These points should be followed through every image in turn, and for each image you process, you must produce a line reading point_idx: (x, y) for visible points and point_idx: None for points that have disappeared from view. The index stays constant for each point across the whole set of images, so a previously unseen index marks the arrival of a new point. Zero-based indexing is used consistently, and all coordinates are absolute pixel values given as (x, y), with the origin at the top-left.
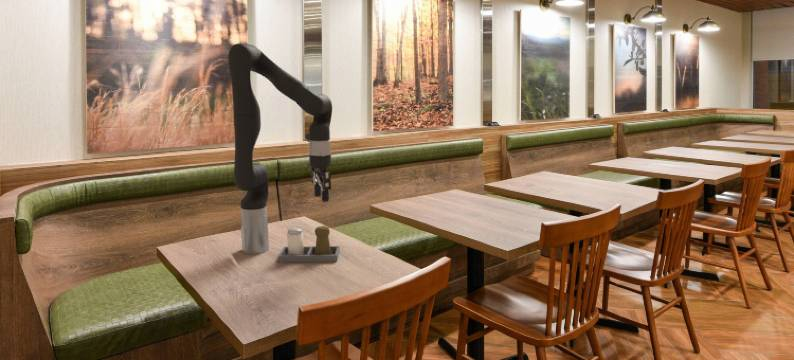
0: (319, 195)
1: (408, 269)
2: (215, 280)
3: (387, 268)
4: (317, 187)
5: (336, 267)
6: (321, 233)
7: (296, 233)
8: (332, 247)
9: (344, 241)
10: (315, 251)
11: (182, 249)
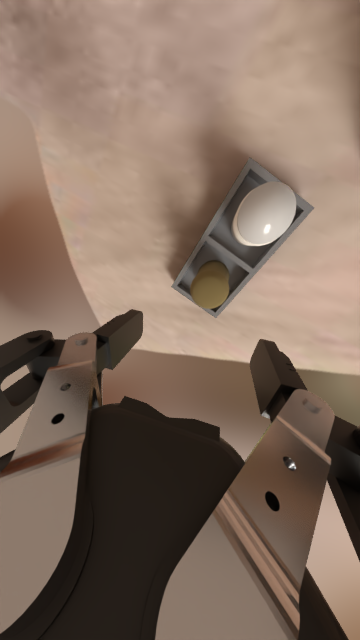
0: (252, 359)
1: None
2: None
3: None
4: (268, 392)
5: (160, 273)
6: (193, 279)
7: (239, 210)
8: (221, 305)
9: None
10: (217, 263)
11: None
